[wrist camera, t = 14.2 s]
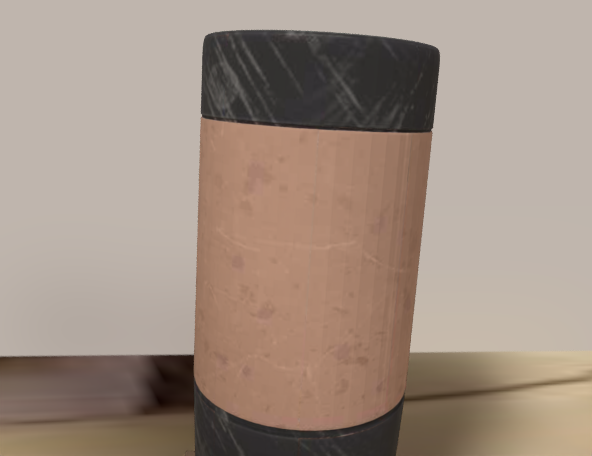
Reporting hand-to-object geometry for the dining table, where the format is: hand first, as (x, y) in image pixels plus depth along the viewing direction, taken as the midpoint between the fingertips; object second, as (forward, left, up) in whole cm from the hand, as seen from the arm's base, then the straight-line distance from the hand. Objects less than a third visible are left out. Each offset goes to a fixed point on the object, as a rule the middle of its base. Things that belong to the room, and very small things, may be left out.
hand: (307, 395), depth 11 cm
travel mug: (0, +8, -13) cm, 15 cm away
